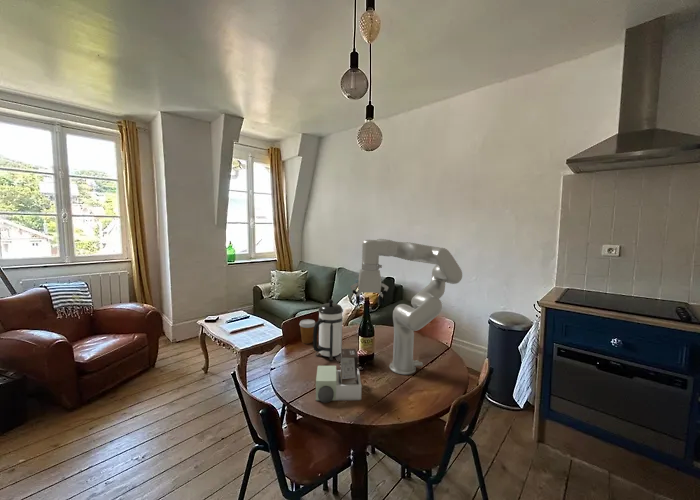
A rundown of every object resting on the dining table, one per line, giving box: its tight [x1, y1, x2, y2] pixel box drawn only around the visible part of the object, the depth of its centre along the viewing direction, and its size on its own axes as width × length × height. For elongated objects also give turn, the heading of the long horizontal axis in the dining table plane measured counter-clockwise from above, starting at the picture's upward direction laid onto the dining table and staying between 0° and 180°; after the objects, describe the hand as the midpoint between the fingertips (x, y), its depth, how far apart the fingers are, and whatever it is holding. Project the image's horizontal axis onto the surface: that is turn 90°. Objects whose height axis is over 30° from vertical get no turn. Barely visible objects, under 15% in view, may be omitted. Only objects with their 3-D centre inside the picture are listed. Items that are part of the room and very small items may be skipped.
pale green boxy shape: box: [315, 365, 362, 404], centre depth 128 cm, size 18×16×8 cm
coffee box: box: [340, 348, 359, 385], centre depth 127 cm, size 9×6×16 cm
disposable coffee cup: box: [298, 318, 316, 344], centre depth 180 cm, size 10×10×12 cm
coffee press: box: [312, 299, 344, 362], centre depth 160 cm, size 17×16×30 cm
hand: (369, 304), depth 140 cm, fingers open, 9 cm apart
